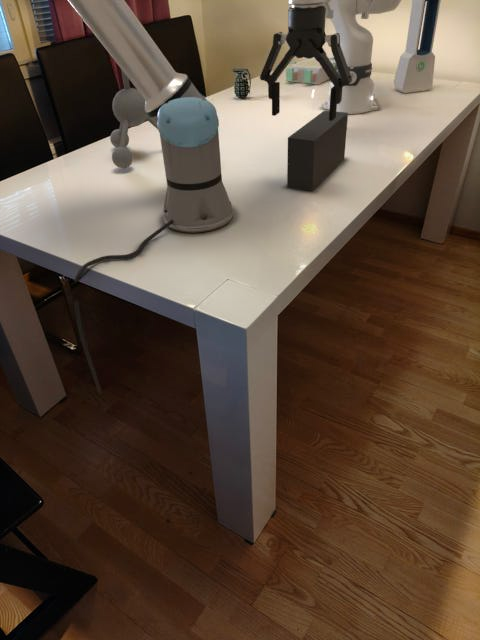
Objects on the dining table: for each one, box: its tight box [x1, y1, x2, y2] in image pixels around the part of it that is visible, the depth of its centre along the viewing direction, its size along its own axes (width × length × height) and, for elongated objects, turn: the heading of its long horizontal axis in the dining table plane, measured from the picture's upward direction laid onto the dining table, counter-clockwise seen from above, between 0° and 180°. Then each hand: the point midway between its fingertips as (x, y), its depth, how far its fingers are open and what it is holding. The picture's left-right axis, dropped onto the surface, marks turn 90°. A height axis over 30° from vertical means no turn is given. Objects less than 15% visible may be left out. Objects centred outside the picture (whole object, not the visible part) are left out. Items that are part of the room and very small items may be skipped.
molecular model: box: [109, 68, 158, 169], centre depth 132 cm, size 24×22×30 cm
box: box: [286, 110, 349, 192], centre depth 121 cm, size 23×6×12 cm, turn 152°
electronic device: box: [393, 0, 442, 94], centre depth 176 cm, size 12×8×30 cm, turn 105°
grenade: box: [231, 68, 252, 100], centre depth 184 cm, size 7×6×10 cm
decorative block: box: [285, 56, 336, 85], centre depth 205 cm, size 26×6×20 cm
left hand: (303, 116), depth 110 cm, fingers open, 13 cm apart
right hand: (346, 18), depth 126 cm, fingers open, 8 cm apart
